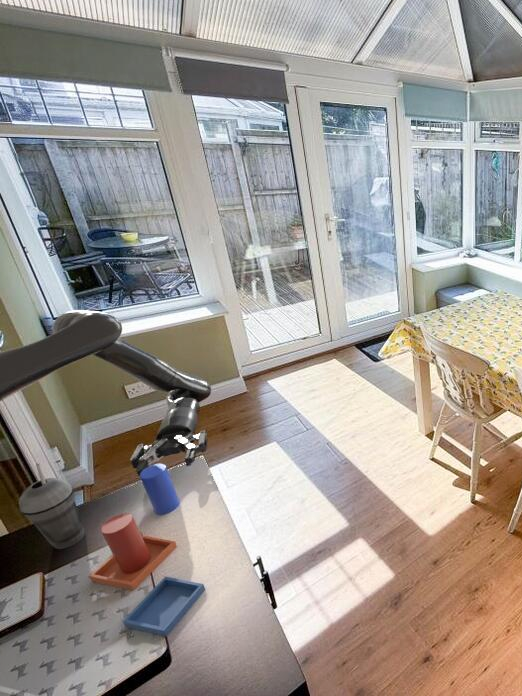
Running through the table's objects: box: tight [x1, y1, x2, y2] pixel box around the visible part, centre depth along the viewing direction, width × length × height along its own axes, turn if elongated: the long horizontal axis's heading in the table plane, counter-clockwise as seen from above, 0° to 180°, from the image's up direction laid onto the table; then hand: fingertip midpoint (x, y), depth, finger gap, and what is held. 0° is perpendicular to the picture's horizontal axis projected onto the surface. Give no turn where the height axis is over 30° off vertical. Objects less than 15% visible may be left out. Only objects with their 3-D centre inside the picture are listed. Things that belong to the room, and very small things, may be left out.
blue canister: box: [139, 463, 181, 516], centre depth 90 cm, size 4×4×11 cm
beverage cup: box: [18, 463, 86, 550], centre depth 80 cm, size 7×7×20 cm
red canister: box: [100, 512, 151, 574], centre depth 78 cm, size 4×4×11 cm
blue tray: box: [122, 576, 206, 638], centre depth 73 cm, size 8×8×2 cm
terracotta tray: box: [88, 534, 178, 591], centre depth 80 cm, size 9×9×2 cm
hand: (165, 468), depth 95 cm, fingers open, 8 cm apart
